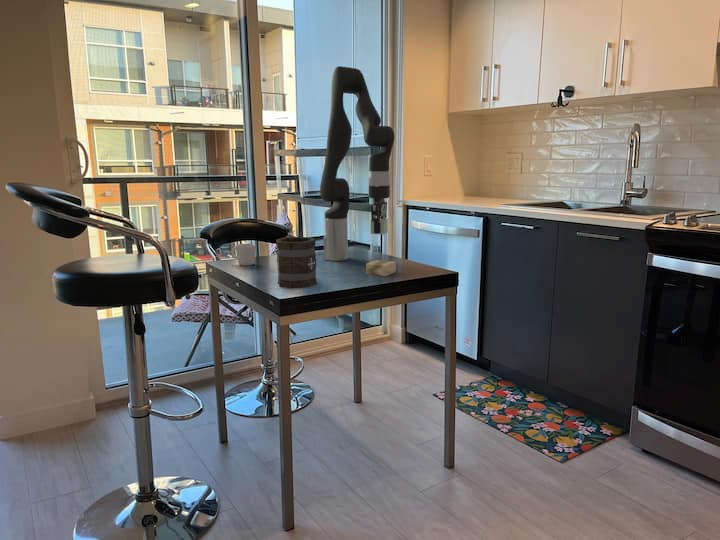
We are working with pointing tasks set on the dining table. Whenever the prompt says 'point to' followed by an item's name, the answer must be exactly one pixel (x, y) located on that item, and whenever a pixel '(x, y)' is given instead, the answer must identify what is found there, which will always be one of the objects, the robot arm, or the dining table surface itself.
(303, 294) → the dining table surface
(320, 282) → the dining table surface
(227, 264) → the dining table surface
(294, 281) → the mug
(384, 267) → the maple block
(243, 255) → the cup
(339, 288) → the dining table surface
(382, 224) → the sage cube
